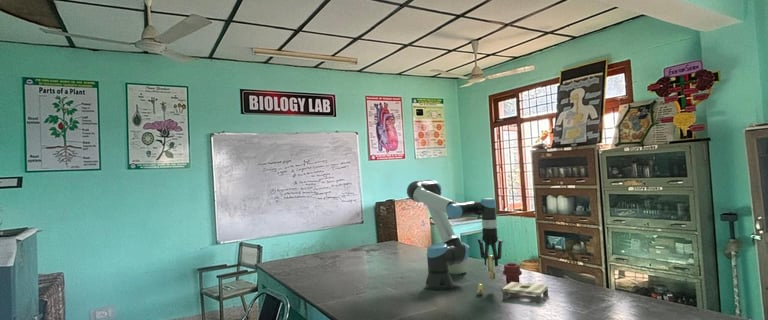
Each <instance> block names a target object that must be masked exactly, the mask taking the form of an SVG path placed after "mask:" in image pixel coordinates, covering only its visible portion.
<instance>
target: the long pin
mask: <svg viewBox="0 0 768 320" xmlns="http://www.w3.org/2000/svg"><path fill="white" fill-rule="evenodd" d="M493 260H494V256H493V255H492V254H490V255H489V254H488V264H489V272H488V280H495V279H496V273H494V272H493Z"/></svg>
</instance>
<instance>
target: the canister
mask: <svg viewBox="0 0 768 320" xmlns="http://www.w3.org/2000/svg"><path fill="white" fill-rule="evenodd" d="M465 244H466V243H465ZM466 245H467V247H468V249H470V245H469V244H466ZM468 263H469V257H468V258H467V260H466V261H464V262H462V263H460V264H454V265H450V266H449V273H450V275H462V273H463V274H465V273H466V272H468V271H467V270H468Z"/></svg>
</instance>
